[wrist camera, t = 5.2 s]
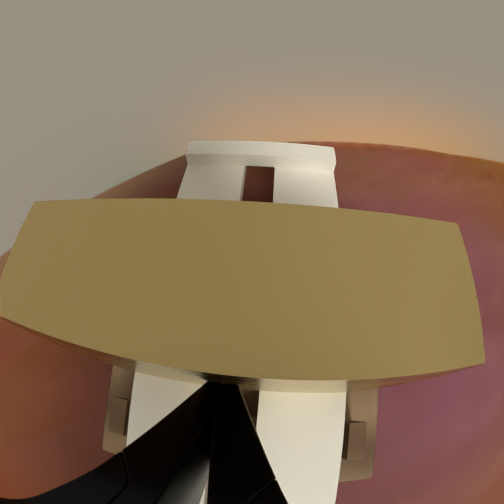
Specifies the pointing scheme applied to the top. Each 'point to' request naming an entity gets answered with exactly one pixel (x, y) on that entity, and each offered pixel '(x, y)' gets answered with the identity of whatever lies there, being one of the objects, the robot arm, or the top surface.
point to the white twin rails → (270, 403)
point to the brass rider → (247, 292)
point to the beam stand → (355, 427)
